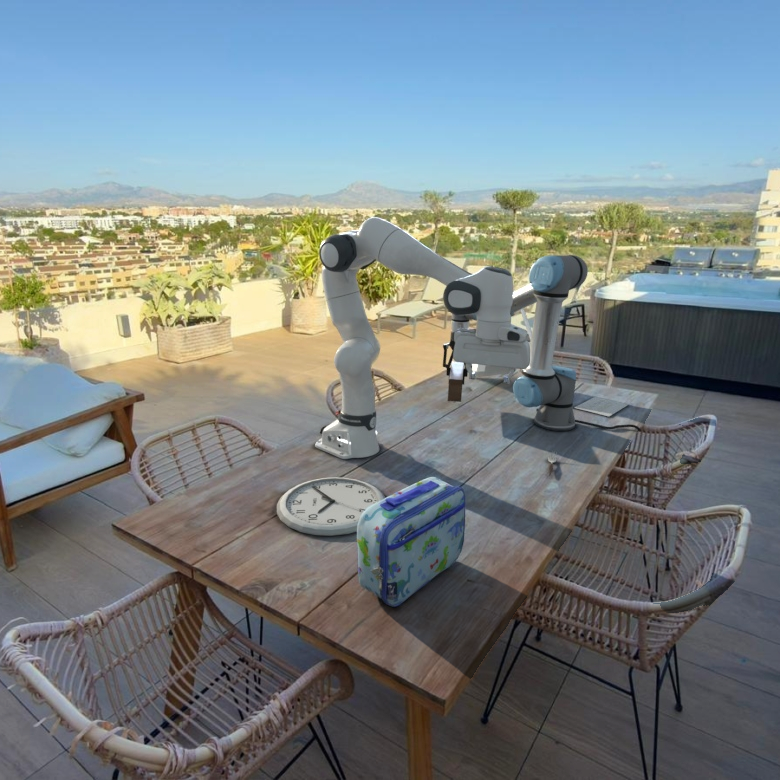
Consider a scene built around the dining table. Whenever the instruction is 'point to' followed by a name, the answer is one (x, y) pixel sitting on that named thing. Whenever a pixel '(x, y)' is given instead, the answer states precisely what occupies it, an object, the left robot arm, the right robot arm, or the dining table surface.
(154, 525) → the dining table surface
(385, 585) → the lunch box
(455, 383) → the bar
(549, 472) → the fork
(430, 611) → the dining table surface
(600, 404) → the invitation card
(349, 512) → the wall clock
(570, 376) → the right robot arm
